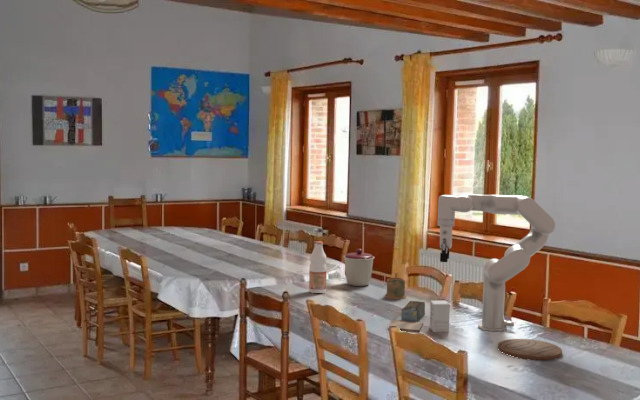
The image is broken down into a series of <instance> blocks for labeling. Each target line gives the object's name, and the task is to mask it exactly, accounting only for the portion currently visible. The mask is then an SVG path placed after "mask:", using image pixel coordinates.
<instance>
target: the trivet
mask: <svg viewBox="0 0 640 400" xmlns="http://www.w3.org/2000/svg"><path fill="white" fill-rule="evenodd" d="M498 349H499V350H500V351H501V352H503V353H505V354H508V355H511V356H514V357H513V358H515V357H518V358H517V359H520V358H522V359H521V360H527V359H530V360H529V361H551V360H550V359H554V360H556V359H555V358H557V359H559V358H561V357H562V356H563V349H562V348H561V347H559V346H558V345H557V344H553V343H551V342H547V341H542V340H538V339H532V338H531V339H529V338H510V339H503V340H501V341H499V342H498V343H497V350H498ZM499 350H498V351H499ZM500 351H499V352H500ZM501 352H500V353H501ZM503 353H502V354H503ZM505 354H504V355H505ZM508 355H507V356H508ZM511 356H510V357H511ZM560 356H561V357H560ZM558 357H559V358H558Z"/></svg>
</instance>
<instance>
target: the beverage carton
mask: <svg viewBox="0 0 640 400" xmlns="http://www.w3.org/2000/svg"><path fill="white" fill-rule="evenodd" d="M425 312H426V302H425V301H418V300H417V301H416V300H415V301H414V300H410V301H409V302H408V303H407V304H406V305H405V306H404V307H403V308H402V309H401V315H400V316H401V317H400V318H401V321H411V322H420V320H422V318H423V317H424V316H425V314H426V313H425Z"/></svg>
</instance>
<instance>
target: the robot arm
mask: <svg viewBox="0 0 640 400" xmlns="http://www.w3.org/2000/svg"><path fill="white" fill-rule="evenodd" d="M437 202H438V205H437V226H438V227H439V248H440V253H439V255H440V256H439V261H440V263H447V262H448V259H450V249H451V248H452V247H453V227H455V225H456V224H455V223H456V221H455V220H456V212H458V213H469V212H471V211H473V212H474V211H475V212H485V213H489V214H493V215H513V216H515V215H518V216H519V215H520V216H522V217H523V219H524V220H525V221H526V222H527V223H529V225H530V230H529V232H528V233H527V234H526V235H525V236H523V237H522V238H521V239H519V240H518V241H517V242H515V243H514V244H513V245H511V246H510V247H508V248H507V249H506V250H505V251H504V254H503V255H504V256H503V257H501V258H500V259H499V258H489V259H488V260H487V261H486V262H485V263H484V265H483V270H482V272H483V274H482V277H483V279H482V280H483V292H482V311H481V313H482V314H481V315H482V316H481V322H479V323H478V325H477V327H478V328H479V329H480V330H482V331H483V330H484V331H487V332H488V331H489V332H504V330H505V331H507V328H508V327H507V326H509V327H515V323H514V321H511V320H506V319H505V317H504V316H505V301H506V299H505V298H506V283H507V281H509V280H511V279H512V278H514V277H515V276H517V275H518V274H520V273H521V272H522V271H524V270H525V269H526V268H527V267H528V266H529V264H530V262H531V258H532V256H534V255H535V254H536V253H537V252H539V251H540V250H541V249H543V248H544V246H545V245H546V243H547V241H548V239H549V235H550V234H552V233H553V232H554V230H555V229H556V221H555V220H554V218H553V217H552V216H551V215H550V214H549V213H548V212H547V211H546V210H544V209H543V208H542V206H540V205H539V204H538V203H537V202H536V201H535V200H534V199H533V198H531V197H529V196H528V195H527V196H526V195H507V194H504V195H503V194H467V193H464V194H463V193H462V194H458V195H457V196H455V195H453V194H442V195H439V196H438V201H437Z"/></svg>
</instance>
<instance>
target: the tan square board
mask: <svg viewBox="0 0 640 400" xmlns="http://www.w3.org/2000/svg"><path fill="white" fill-rule="evenodd" d="M423 325H424V322H421V321H418V322H411V321H402V320H399V319H398V320H397V319H392V320H391V321H390V323H389V325H388V326H387V328H388V327H389V326H397V327H399V328H400V330H403V331H402V332H411V333H420V332H421V329H422V328H423Z"/></svg>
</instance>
